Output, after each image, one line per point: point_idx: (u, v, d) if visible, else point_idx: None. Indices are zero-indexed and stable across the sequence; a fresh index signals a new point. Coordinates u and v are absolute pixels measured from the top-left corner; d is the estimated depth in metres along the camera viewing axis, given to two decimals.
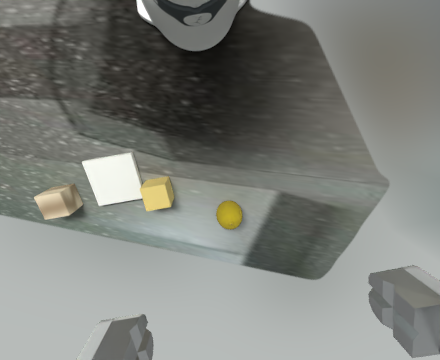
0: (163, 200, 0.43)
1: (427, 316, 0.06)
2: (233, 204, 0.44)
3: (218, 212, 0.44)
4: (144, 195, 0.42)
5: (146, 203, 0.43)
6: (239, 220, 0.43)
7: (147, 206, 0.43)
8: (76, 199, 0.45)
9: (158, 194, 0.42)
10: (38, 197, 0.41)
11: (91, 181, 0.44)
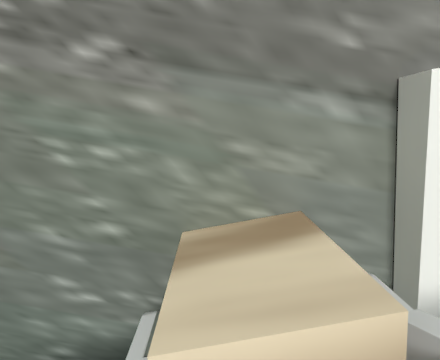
0: None
1: None
2: None
3: None
4: None
5: None
6: None
7: None
8: None
9: None
10: (190, 359, 0.04)
11: (434, 198, 0.08)
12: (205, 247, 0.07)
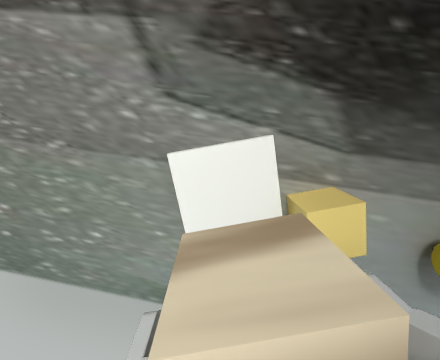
0: (354, 240, 0.18)
1: None
2: None
3: None
4: None
5: None
6: None
7: None
8: None
9: (346, 226, 0.18)
10: None
11: (181, 197, 0.21)
12: (205, 249, 0.07)
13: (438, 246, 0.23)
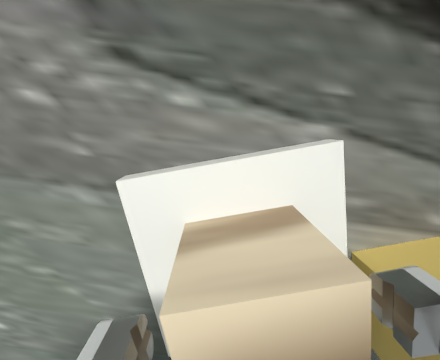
0: None
1: (427, 316, 0.06)
2: None
3: None
4: None
5: None
6: None
7: None
8: None
9: None
10: (194, 318, 0.05)
11: (149, 266, 0.10)
12: (206, 235, 0.08)
13: None
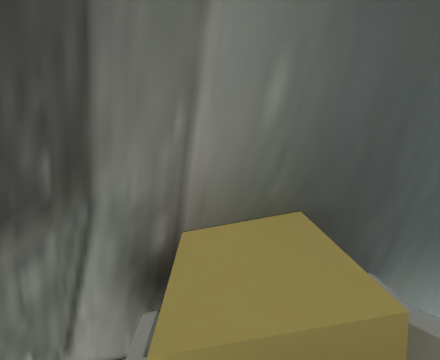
0: None
1: None
2: None
3: None
4: None
5: None
6: None
7: None
8: None
9: None
10: None
11: None
12: None
13: None
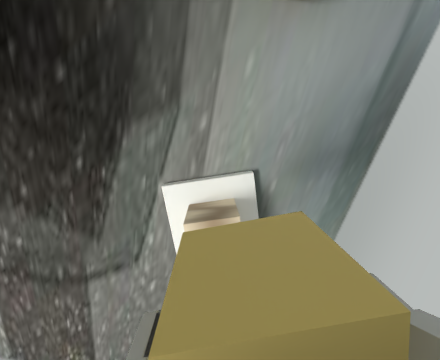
0: None
1: None
2: None
3: None
4: None
5: None
6: None
7: None
8: (218, 204, 0.22)
9: None
10: None
11: None
12: None
13: None
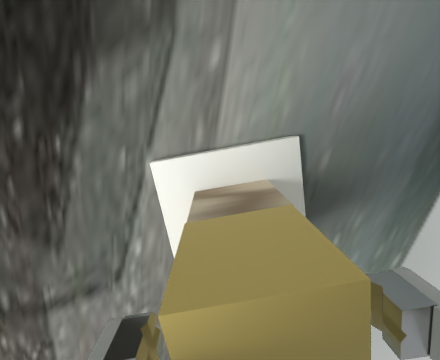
0: (302, 328, 0.05)
1: (415, 318, 0.06)
2: None
3: None
4: None
5: None
6: None
7: None
8: (243, 189, 0.13)
9: (247, 358, 0.05)
10: None
11: None
12: None
13: None
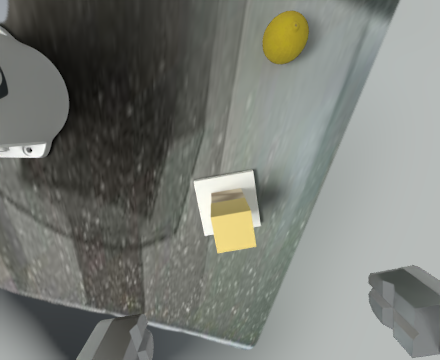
0: (238, 220, 0.26)
1: (427, 316, 0.06)
2: (266, 31, 0.27)
3: (277, 56, 0.28)
4: (229, 247, 0.27)
5: (242, 245, 0.27)
6: (292, 12, 0.25)
7: (248, 244, 0.27)
8: (230, 192, 0.34)
9: (227, 227, 0.26)
10: None
11: None
12: None
13: None
